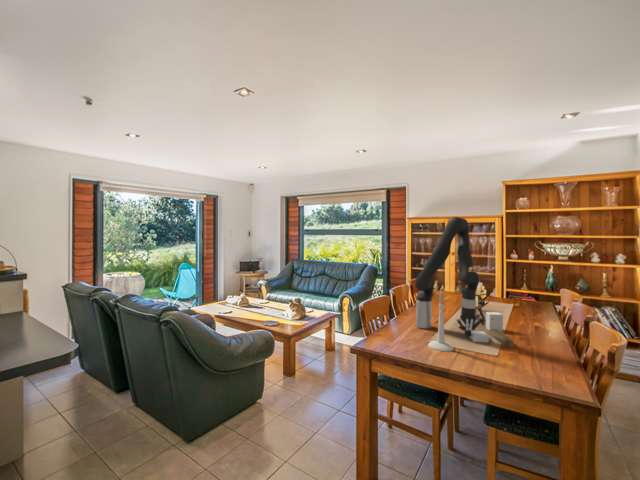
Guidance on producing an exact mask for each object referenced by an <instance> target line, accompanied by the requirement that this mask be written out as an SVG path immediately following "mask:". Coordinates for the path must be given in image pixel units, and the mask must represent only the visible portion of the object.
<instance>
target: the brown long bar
mask: <svg viewBox="0 0 640 480" xmlns="http://www.w3.org/2000/svg"><path fill="white" fill-rule="evenodd" d="M489 336H491V337H492V338H494V339H495V340H496V342H498V343H500V344H501V345H502V346H504V347H505V348H514V340H513V339H512V338H510V337H509V336H507V335H506V334H504V333H503V331H499V330H498V329H490V331H489Z"/></svg>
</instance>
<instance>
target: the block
mask: <svg viewBox="0 0 640 480" xmlns="http://www.w3.org/2000/svg"><path fill="white" fill-rule="evenodd" d="M469 339H471V341H472V342H474V343H490V334H488V333H486V332H485V331H483V330H482V331H481V330H471V336H470V338H469Z"/></svg>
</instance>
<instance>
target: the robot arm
mask: <svg viewBox="0 0 640 480" xmlns="http://www.w3.org/2000/svg"><path fill="white" fill-rule="evenodd" d="M469 228H470V227H469V223H468V220H467V219H465V218H462V217H459V216H453V217H451V218H450V219H449V220H448V221H447V223H446V225H445V227H444V229H443V231H442V234H441V236H440V238H439V239H438V241H437V244H436V246H435V247H434V248H433V250H432V252H431V254H430V256H429V258H428V259H427V261H426V262H425V265H424V267H423V268H422V270H421V271H420V273H419V274H418V276H417V277H416V278H415V279H414V286H415V288H416V289H417V290H418V293H417V295H416V305H415V306H416V309H415V320H414V321H415V322H414V323H415V327H416V328H418V329H425V330H427V329H431V328H432V298H433V296H434V295H433V294H434V280H433V276H434V275H435V273H436V272H438V270H439V269H440V268H441V267H442V266H443V265H444V263H446V261H447V259H448V257H449V256H450V252H451V247H452V242H453V240H454V238H455V237H456V236H457V239H458V248H457V257H458V262H459V271H458V274H459V275H458V277H459V278H458V279H459V281H460V283H461V284H463V285H466V287H464V288H462V290H461V305H460V306H461V309H460V311H461V313H460V317H459V318H458V319H457V318H456V322H457V323H458V324H459V326H460V327H461V328H462V329H463V330H464V335H465V336H466V337H468V338H469V337H470V336H471V331H475V330H476V328H478V326H479V325H480V324H481V321H480V320H478V319H477V301H476V299H477V295H476V294H477V293H476V292H477V290H478V286H479V283H480V276H479V273H477V272H476V271H474V270H473V271H472V270H471V271H469V269H470V268H471V267H473V266H474V262H473V257H472V252H471V246H470V233H469ZM463 323H464V324H463Z"/></svg>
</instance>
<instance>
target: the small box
mask: <svg viewBox="0 0 640 480" xmlns="http://www.w3.org/2000/svg"><path fill="white" fill-rule="evenodd" d="M485 329H486V330H487V331H489V332H490V329H498V330H499V331H500V332H503V329H504V315H503V314H502V313H500V312H494V311H492V312H490V311H489V312H488V311H486V312H485Z"/></svg>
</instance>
